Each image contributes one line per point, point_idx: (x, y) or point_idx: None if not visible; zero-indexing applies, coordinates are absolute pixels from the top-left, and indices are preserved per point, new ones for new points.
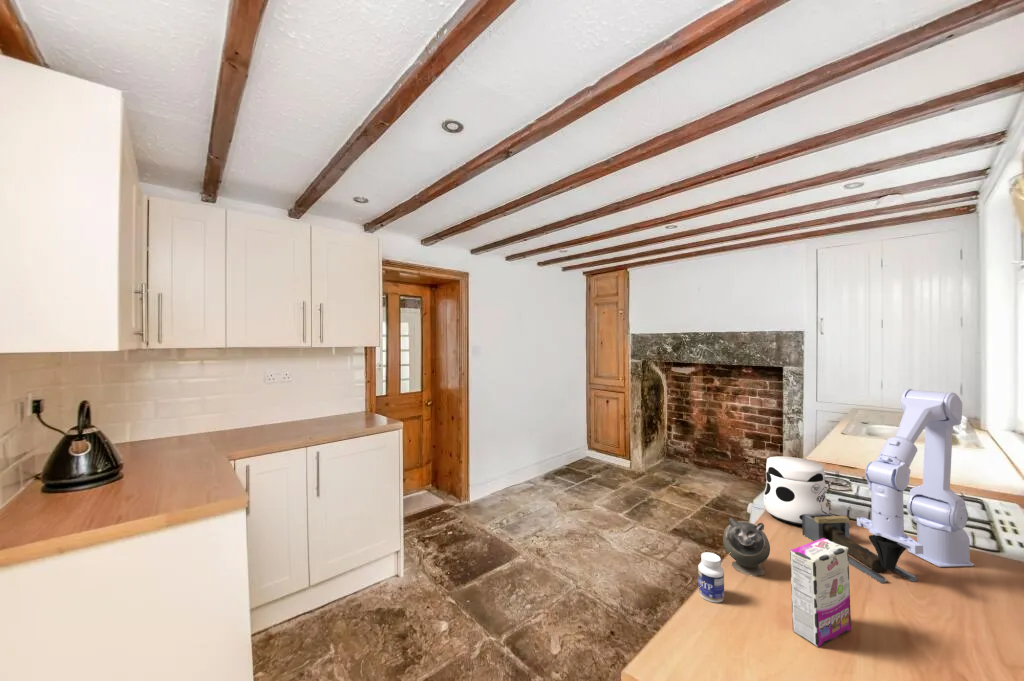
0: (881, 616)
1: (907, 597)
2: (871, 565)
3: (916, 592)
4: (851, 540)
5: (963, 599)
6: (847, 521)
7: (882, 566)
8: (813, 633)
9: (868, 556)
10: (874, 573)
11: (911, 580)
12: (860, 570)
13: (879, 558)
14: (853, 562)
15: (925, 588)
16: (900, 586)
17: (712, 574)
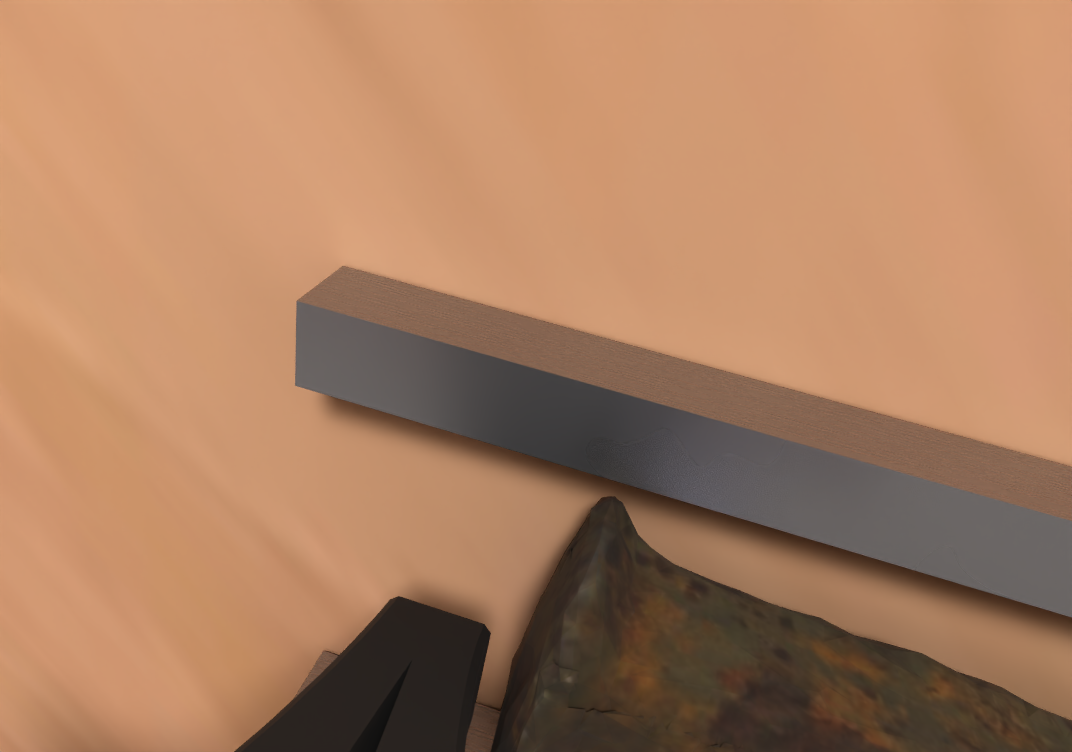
0: None
1: (7, 226)
2: (599, 555)
3: (127, 461)
4: None
5: (42, 688)
6: None
7: (461, 631)
8: None
9: (716, 745)
10: (445, 368)
11: (319, 664)
12: (735, 374)
13: (447, 749)
14: (905, 460)
15: (203, 626)
16: (251, 437)
17: None
